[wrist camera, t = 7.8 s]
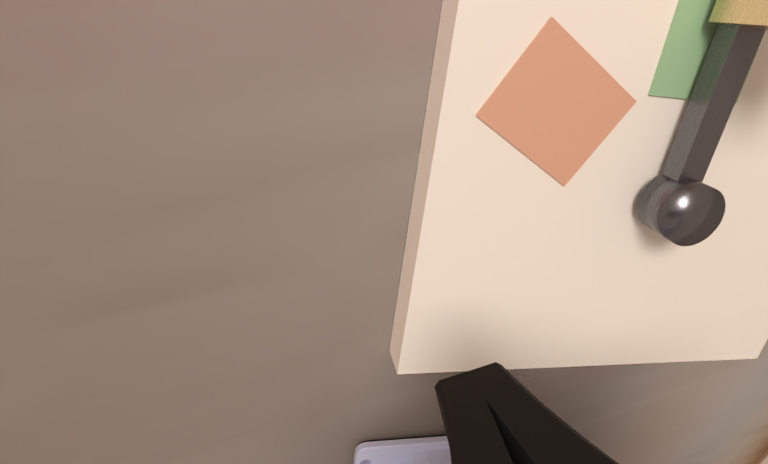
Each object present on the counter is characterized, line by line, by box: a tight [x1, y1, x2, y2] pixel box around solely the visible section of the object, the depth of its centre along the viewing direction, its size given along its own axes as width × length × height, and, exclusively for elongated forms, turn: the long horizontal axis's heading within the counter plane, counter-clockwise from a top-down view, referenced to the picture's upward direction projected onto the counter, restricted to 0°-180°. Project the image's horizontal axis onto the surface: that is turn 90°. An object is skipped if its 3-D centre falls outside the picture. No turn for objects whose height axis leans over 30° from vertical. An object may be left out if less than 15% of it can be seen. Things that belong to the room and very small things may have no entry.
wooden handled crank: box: [636, 0, 768, 246], centre depth 15 cm, size 9×2×5 cm, turn 172°
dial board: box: [389, 0, 768, 374], centre depth 19 cm, size 16×18×2 cm
